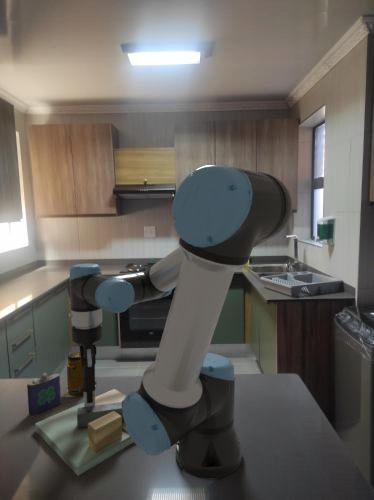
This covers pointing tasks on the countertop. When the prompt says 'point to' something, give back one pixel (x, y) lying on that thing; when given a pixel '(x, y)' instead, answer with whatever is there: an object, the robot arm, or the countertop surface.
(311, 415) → the countertop surface
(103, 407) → the latch bar
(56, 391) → the flask
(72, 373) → the condiment
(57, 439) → the two-tone base plate
